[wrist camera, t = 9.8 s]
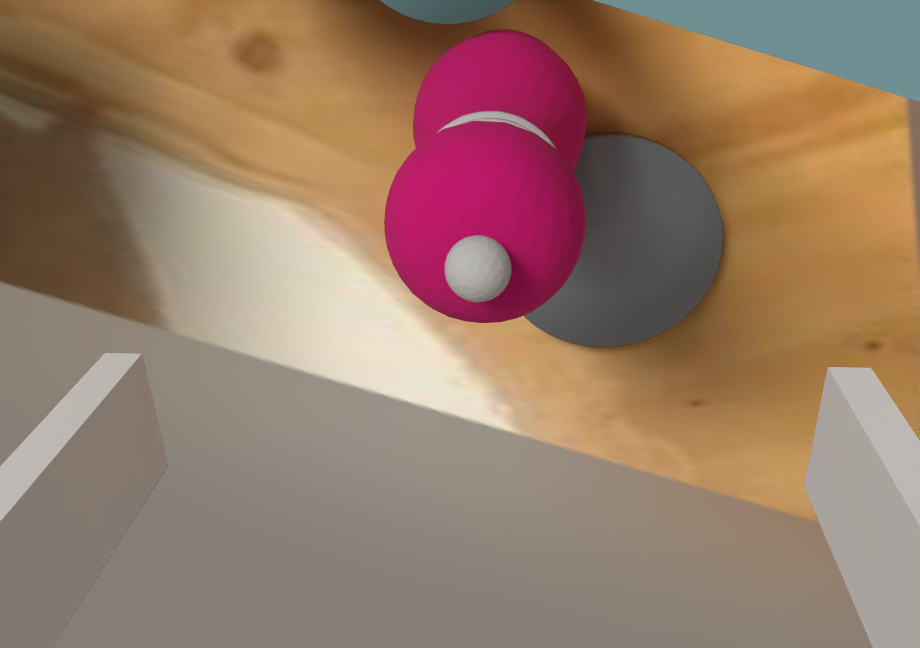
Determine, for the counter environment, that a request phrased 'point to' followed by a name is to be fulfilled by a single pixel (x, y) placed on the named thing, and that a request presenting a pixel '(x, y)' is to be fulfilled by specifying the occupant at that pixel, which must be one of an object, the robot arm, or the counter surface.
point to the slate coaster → (635, 245)
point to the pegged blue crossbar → (767, 31)
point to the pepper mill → (491, 181)
